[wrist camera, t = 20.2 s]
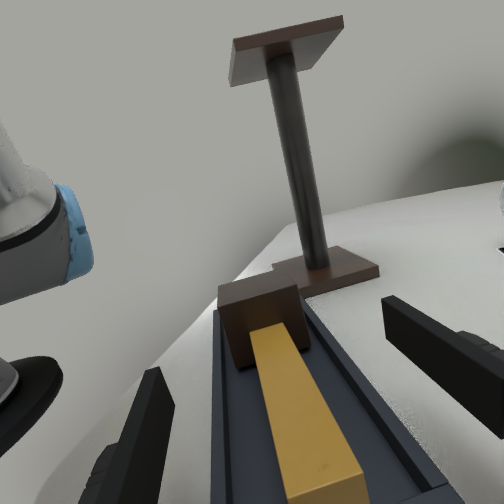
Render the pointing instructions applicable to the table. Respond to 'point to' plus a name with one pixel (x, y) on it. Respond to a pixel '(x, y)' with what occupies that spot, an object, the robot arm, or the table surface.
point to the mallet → (290, 389)
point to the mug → (502, 198)
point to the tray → (344, 412)
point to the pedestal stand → (299, 146)
